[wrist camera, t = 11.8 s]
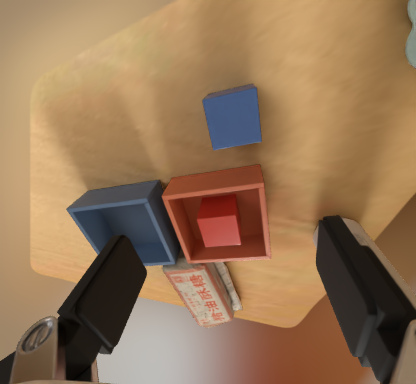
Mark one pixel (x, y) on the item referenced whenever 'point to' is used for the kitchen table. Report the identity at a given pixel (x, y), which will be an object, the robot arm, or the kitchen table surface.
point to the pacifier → (411, 35)
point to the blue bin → (129, 220)
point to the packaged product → (204, 290)
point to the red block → (220, 221)
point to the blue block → (233, 117)
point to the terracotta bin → (218, 186)
